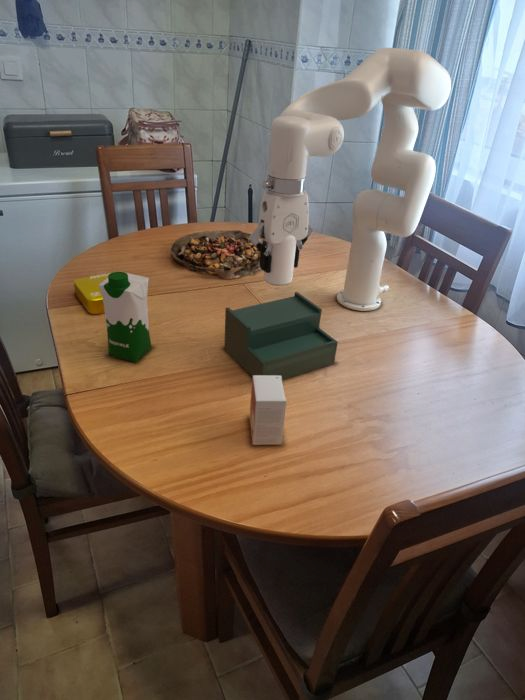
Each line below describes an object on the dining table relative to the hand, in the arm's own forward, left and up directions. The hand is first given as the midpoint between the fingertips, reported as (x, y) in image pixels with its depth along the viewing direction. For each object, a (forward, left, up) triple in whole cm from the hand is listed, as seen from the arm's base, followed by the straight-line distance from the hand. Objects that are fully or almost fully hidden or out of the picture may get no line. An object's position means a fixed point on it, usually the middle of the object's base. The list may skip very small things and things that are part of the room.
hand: (279, 267), depth 111 cm
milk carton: (+30, -14, -22) cm, 40 cm away
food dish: (-16, -56, -21) cm, 62 cm away
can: (0, 0, -3) cm, 3 cm away
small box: (+17, +24, -22) cm, 37 cm away
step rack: (0, +3, -21) cm, 22 cm away
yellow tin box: (+26, -42, -22) cm, 54 cm away
